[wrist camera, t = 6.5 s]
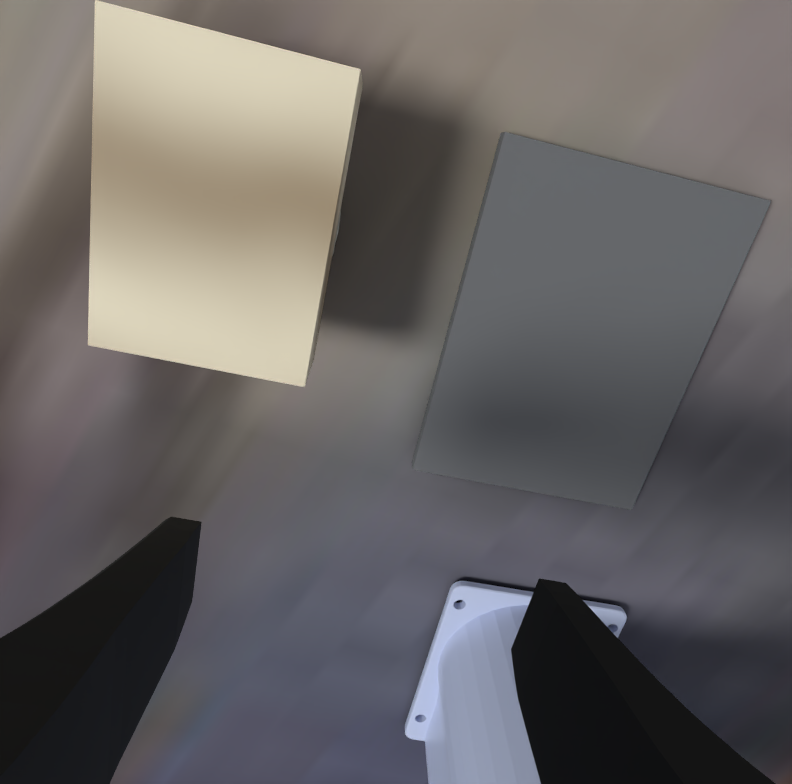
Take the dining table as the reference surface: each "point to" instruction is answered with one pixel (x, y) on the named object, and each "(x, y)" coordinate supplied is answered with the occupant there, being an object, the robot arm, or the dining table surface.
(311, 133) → the block
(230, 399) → the dining table surface
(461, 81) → the dining table surface
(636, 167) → the mat
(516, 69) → the dining table surface
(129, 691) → the robot arm
